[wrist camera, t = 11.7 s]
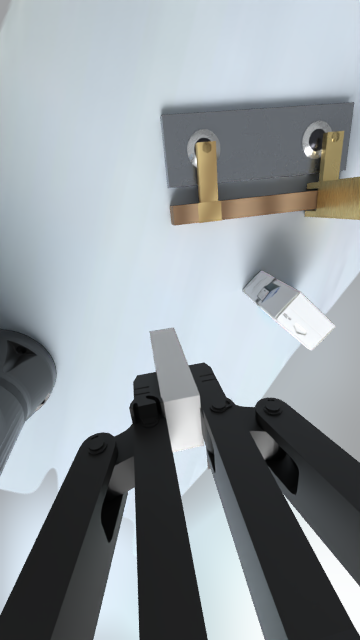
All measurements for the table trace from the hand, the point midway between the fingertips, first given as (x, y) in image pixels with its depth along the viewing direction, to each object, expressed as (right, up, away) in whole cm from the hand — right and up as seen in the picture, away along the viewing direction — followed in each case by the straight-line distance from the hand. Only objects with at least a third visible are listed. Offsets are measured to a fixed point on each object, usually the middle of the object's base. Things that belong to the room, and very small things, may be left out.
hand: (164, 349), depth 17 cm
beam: (+12, +22, +22) cm, 33 cm away
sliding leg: (+22, +23, +23) cm, 39 cm away
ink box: (+16, +6, +30) cm, 34 cm away
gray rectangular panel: (+12, +26, +21) cm, 35 cm away
